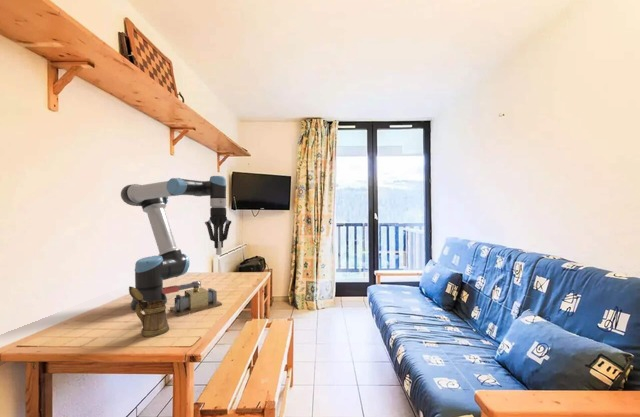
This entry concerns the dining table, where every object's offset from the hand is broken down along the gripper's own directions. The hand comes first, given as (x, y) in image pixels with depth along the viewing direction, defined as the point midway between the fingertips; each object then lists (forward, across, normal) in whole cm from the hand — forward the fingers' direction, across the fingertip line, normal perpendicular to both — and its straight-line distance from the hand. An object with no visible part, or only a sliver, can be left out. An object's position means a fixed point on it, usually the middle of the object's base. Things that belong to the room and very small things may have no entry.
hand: (218, 254), depth 137 cm
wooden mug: (+25, -33, -12) cm, 43 cm away
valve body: (+24, -10, +3) cm, 27 cm away
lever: (+15, -16, +3) cm, 22 cm away
